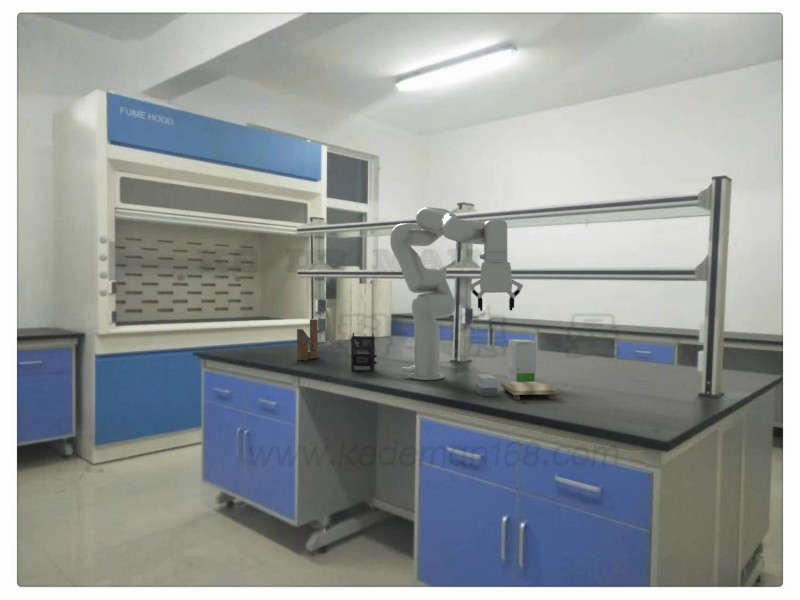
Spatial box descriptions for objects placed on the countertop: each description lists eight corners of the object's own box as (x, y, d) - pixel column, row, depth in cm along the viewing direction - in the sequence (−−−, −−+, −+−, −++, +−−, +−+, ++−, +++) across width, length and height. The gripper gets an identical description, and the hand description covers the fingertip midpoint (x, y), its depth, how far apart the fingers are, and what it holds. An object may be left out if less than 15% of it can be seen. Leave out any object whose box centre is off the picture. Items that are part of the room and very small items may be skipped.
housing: (481, 397, 178) (481, 378, 178) (475, 391, 186) (475, 373, 186) (496, 396, 179) (497, 378, 178) (490, 391, 187) (490, 373, 186)
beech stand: (513, 400, 173) (513, 390, 173) (500, 391, 187) (500, 382, 187) (557, 399, 174) (557, 390, 174) (541, 390, 188) (541, 381, 188)
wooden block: (296, 360, 251) (296, 320, 251) (313, 357, 260) (313, 318, 259) (302, 361, 249) (302, 320, 248) (319, 358, 258) (319, 319, 257)
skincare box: (515, 386, 196) (515, 341, 195) (506, 382, 202) (507, 339, 201) (536, 384, 198) (537, 341, 197) (527, 381, 204) (528, 338, 204)
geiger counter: (377, 369, 228) (377, 332, 227) (375, 371, 224) (375, 333, 223) (352, 368, 229) (352, 332, 228) (349, 370, 225) (350, 333, 224)
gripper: (469, 258, 181) (469, 311, 181) (523, 257, 179) (524, 310, 180) (468, 259, 188) (469, 309, 189) (521, 258, 187) (521, 309, 187)
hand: (495, 310), depth 184 cm, fingers open, 9 cm apart
